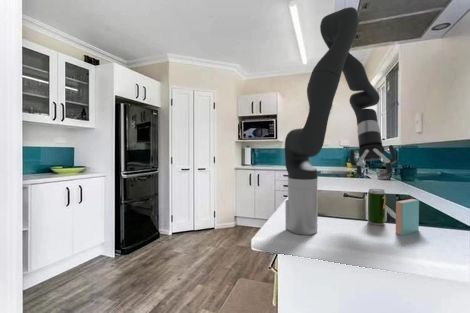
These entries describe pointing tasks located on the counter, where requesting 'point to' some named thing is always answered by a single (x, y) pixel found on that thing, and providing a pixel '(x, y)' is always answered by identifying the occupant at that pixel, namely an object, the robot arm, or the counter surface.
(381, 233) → the counter surface
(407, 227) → the tile
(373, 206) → the beer can
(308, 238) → the counter surface
